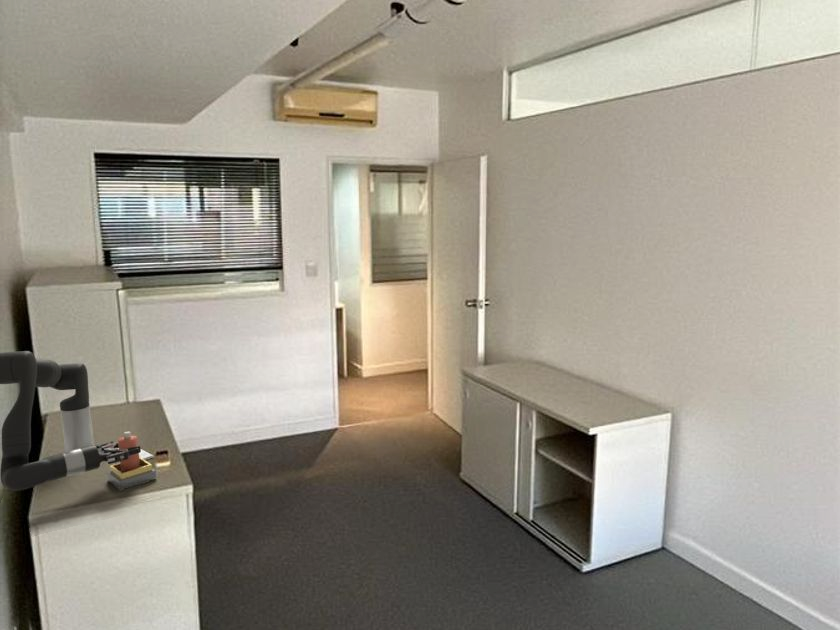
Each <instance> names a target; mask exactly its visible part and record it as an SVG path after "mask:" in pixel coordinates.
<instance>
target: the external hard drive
mask: <svg viewBox="0 0 840 630" xmlns="http://www.w3.org/2000/svg"><path fill="white" fill-rule="evenodd" d="M140 457H141V458H142V459H144V460H145V461H148V460H151V459H150V458H152V459H154V458H155V456H154V455H153V454H151V453H149V452H147V451H145V450H144V449H141V452H140V453H139V458H140ZM153 457H154V458H153ZM147 459H148V460H147Z"/></svg>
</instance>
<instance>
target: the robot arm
mask: <svg viewBox="0 0 840 630" xmlns="http://www.w3.org/2000/svg"><path fill="white" fill-rule="evenodd" d="M88 375H89V374H88V369H87V367H86V365H85V364H84V363H81V362H79V363H78V362H77V363H67V364H66V363H65V364H63V363H62V364H58V363H57V362H56V361H55V360H52V359H47V358H43V357H41V358H40V357H36V356H35V354H34V353H33V352H31V351H29V350H24V351H23V350H22V351H7V352H0V385H11V384H19V392H18V396H17V398H16V401H15V403H14V405H13V406H12V408H11V409H10V411H9V413H8V414H7V416H6V417H5V419H4V422H3V424H2V427H1V451H2V456H1V463H0V483H1V485H2V486H3V487H5V488H6V489H8V490H9V491H13V492H14V491H15V492H19V491H23V490H27V489H30V488H33V487H36V486H39V485H41V484H44V483H46V482H50V481H51V482H52V481H54V480H58V479H62V478H65V477H70V476H76V475H80V474H83V473H86V472H90V471H93V470H98V469H99V468H100V466H101V463H103V462H107V464H108V465H113V464H117V463H120V461H123V460H127V459H129V456H130V455H134V454H137V453H140V452H141V446H140V445H138V446H135V447H131V448H128V449H120V448H119V445H118V441H115V442H114V441H113V440H111V441H108V442H104V443H101V444H96V445H95V442H94V432H93V431H94V430H93V423H92V415H91V407H90V406H91V405H90V392H89V377H88ZM36 388H51V389H54V390H58V391H69V390H74V391H75V392H74V394H73V395H71V396H70V397H67V398H64V399H63V400H61V401H60V402H59V408H60V409H59V410H60V411H59V412H60V417H61V426H62V433H63V434H62V435H63V442H64V450H65V452H63V453H58V454H55V455H50V456H47V457H44V458H42V459H41V460H37V461H33V462H29V454H30V452H31V450H32V449H31V448H32V434H31V433H32V428H31V427H32V426H31V424H32V412H33V406H34V399H35V392H36ZM122 454H124V455H122Z"/></svg>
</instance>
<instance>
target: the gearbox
mask: <svg viewBox="0 0 840 630" xmlns="http://www.w3.org/2000/svg"><path fill="white" fill-rule="evenodd" d="M139 460H140V468H136V469H133V470H130V471H126V472H123V473H121V465H120V462H117V463H114V464H110V465H109V470H110V471H109V470H108V471H107V479H108V480H109V481H108V482H109V483H111V484H112V485H113V484H114V485H113V486H114V487H116V488H117V489H118V488H119V489H120V490H119V489H118V490H119V491H123V490H122V489H124V490H126V489H125V488H127V489H129V488H128V487H130V488H132V487H131V486H133V487H135V486H134V485H137V486H139V485H138V484H140V485H142V484H141V483H143V484H145V483H144V482H146V483H148V482H147V481H149V482H151V481H150V480H153V479H155V478H156V479H157V473H156V469H154V468H153V465H152V464H151V463H150V462H149V461H148V460H144V459H142V458H141V457H140V458H139ZM153 481H154V480H153Z"/></svg>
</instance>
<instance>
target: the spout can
mask: <svg viewBox="0 0 840 630" xmlns="http://www.w3.org/2000/svg"><path fill="white" fill-rule="evenodd" d="M117 442H118V445H119V448H120V449H128V448H131V447H135V446H139V441H138V436H136V435H132V433H131V431H124V432H123V437H120V438H118V439H117ZM122 455H124V454H122ZM119 463H120V465H121V473H123V472H126V471H130V470H133V469H136V468H140V460H139V453H137V454H134V455H130V456H129V459H127V460H123V461H119Z"/></svg>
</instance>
